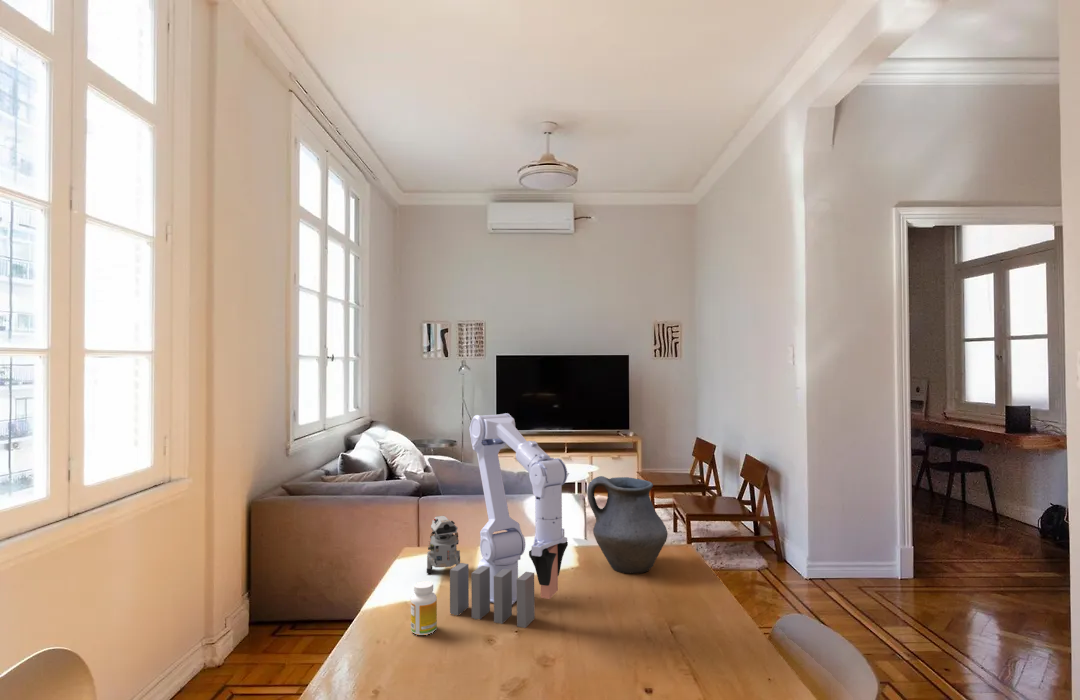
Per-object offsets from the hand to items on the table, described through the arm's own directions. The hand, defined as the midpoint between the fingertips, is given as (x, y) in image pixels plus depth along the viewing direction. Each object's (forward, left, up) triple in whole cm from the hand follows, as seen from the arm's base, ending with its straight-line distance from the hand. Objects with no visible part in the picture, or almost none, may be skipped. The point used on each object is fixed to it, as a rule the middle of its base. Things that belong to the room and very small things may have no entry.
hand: (549, 580), depth 127 cm
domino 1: (-22, 0, -10) cm, 24 cm away
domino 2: (-17, 0, -10) cm, 19 cm away
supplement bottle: (-24, -11, -10) cm, 28 cm away
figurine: (-38, +20, -10) cm, 44 cm away
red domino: (0, 0, -3) cm, 3 cm away
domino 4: (-6, 0, -10) cm, 11 cm away
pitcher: (+7, +42, -10) cm, 43 cm away
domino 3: (-11, 0, -10) cm, 15 cm away
